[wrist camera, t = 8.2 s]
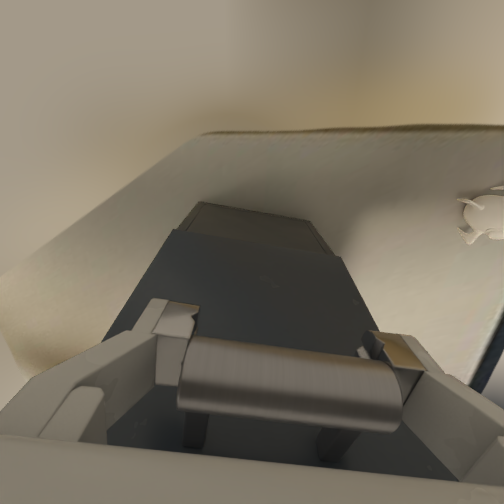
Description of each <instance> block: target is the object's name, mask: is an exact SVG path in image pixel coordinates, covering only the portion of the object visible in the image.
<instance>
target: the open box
mask: <svg viewBox="0 0 504 504" xmlns="http://www.w3.org/2000/svg"><path fill="white" fill-rule="evenodd" d="M177 230H183V231H189V232H195V233H201V234H207V235H213V236H219V237H225V238H231V239H237V240H243V241H249V242H255V243H261V244H267V245H273V246H279V247H285V248H291V249H297V250H303V251H309V252H315V253H321V254H327V255H333V256H335V255H334V253H333V252H332V251H331V249H330V248H329V246H328V245H327V244H326V242H325V241H324V240H323V238H322V237H321V235H320V234H319V233H318V231H317V230H316V229H315V227H314V226H313V224H312V223H311V222H310V221H306V220H301V219H295V218H289V217H284V216H278V215H272V214H266V213H261V212H255V211H249V210H244V209H238V208H232V207H227V206H221V205H215V204H210V203H204V202H198V203H197V205H196V206H195V207H194V208H193V209H192V211H191V212H190V213H189V214H188V216H187V217H186V218H185V219H184V220H183V222H182V223H181V224H180V225H179V227H178V228H177Z"/></svg>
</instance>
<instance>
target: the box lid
mask: <svg viewBox="0 0 504 504" xmlns="http://www.w3.org/2000/svg"><path fill="white" fill-rule="evenodd" d="M153 298H159V299H166V300H169V301H170V300H172V301H178V302H184V303H190V304H196V305H201V310H200V318H199V321H198V325H197V326H198V335H193V336H192V337H191V339H190V341H189V343H188V344H187V347H186V351H185V355H184V359H183V363H182V367H181V372H180V377H179V382H178V387H174V386H164V385H154V387H153V388H152V389H151V390H150V391H149V392H148V393H147V394H146V395H145V396H143V397H142V398H141V399H140V400H139V401H138V402H137V403H136V404H135V405H134V406H133V407H132V408H130V409H129V410H128V411H127V412H126V413H125V414H124V415H123V416H122V417H121V418H120V419H118V420H117V421H116V422H115V423H114V424H113V425H112V426H111V427H110V428H109V429H108V430H107V445H114V446H123V447H133V448H142V449H152V450H161V451H171V452H180V453H190V454H200V455H209V456H219V457H228V458H238V459H247V460H257V461H266V462H276V463H285V464H294V465H304V466H313V467H323V468H332V469H342V470H351V471H360V472H370V473H379V474H389V475H399V476H408V477H418V478H428V479H437V480H447V481H457V482H458V480H457V478H456V477H455V476H454V475H453V474H452V473H451V472H450V471H449V470H448V469H447V467H446V466H445V465H444V464H443V463H442V462H441V461H440V460H439V459H438V458H437V457H436V456H435V455H434V454H433V453H432V452H431V451H430V449H429V448H428V447H427V446H426V445H425V444H424V443H423V442H422V441H421V440H420V439H419V438H418V437H417V436H416V435H415V434H414V433H413V431H412V430H411V429H410V428H409V427H408V426H407V425H406V424H405V423H404V422H403V421H402V415H403V397H402V391H401V387H400V384H399V381H398V379H397V377H396V375H395V373H394V371H393V370H392V369H391V368H390V366H388V365H387V364H386V363H384V362H383V361H380V360H373V359H365V358H358V357H354V355H355V352H356V350H357V349H358V348H359V347H361V346H362V345H363V344H362V341H361V338H362V336H363V334H364V333H365V332H366V331H367V330H370V331H378V332H380V331H379V329H378V327H377V325H376V323H375V321H374V320H373V318H372V316H371V314H370V312H369V310H368V308H367V306H366V304H365V302H364V300H363V299H362V297H361V295H360V293H359V291H358V289H357V287H356V285H355V283H354V281H353V279H352V278H351V276H350V274H349V272H348V270H347V268H346V266H345V264H344V262H343V260H342V258H341V257H339V256H333V255H327V254H321V253H315V252H309V251H303V250H297V249H291V248H285V247H279V246H273V245H267V244H261V243H255V242H249V241H243V240H237V239H231V238H225V237H219V236H213V235H207V234H201V233H195V232H189V231H183V230H177V229H173V230H172V231H171V233H170V235H169V236H168V238H167V239H166V241H165V242H164V244H163V246H162V247H161V249H160V250H159V252H158V253H157V255H156V257H155V258H154V260H153V261H152V263H151V264H150V266H149V268H148V269H147V271H146V272H145V274H144V276H143V277H142V279H141V280H140V282H139V283H138V285H137V287H136V288H135V290H134V291H133V293H132V294H131V296H130V298H129V299H128V301H127V302H126V304H125V305H124V307H123V309H122V310H121V312H120V313H119V315H118V316H117V318H116V320H115V321H114V323H113V324H112V326H111V327H110V329H109V331H108V332H107V334H106V335H105V337H104V338H103V340H102V342H104V341H106V340H108V339H110V338H112V337H114V336H116V335H118V334H120V333H122V332H124V331H126V330H128V331H131V330H132V329H133V327H134V326H135V324H136V322H137V321H138V319H139V318H140V316H141V315H142V313H143V311H144V310H145V308H146V307H147V305H148V303H149V302H150V300H151V299H153ZM102 342H101V343H102Z"/></svg>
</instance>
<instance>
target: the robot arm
mask: <svg viewBox="0 0 504 504" xmlns="http://www.w3.org/2000/svg"><path fill="white" fill-rule="evenodd" d="M200 310H201V305H196V304H190V303H184V302H178V301H172V300H170V301H169V300H166V299H159V298H153V299H151V300H150V302H149V303H148V305H147V307H146V308H145V310H144V311H143V313H142V315H141V316H140V318H139V319H138V321H137V322H136V324H135V326H134V327H133V329H132V330H131V331H128V330H126V331H124V332H122V333H120V334H118V335H116V336H114V337H112V338H110V339H108V340H106V341H104V342H102V343H100V344H98V345H96V346H94V347H92V348H90V349H88V350H86V351H84V352H82V353H80V354H78V355H76V356H74V357H72V358H70V359H68V360H66V361H64V362H62V363H60V364H58V365H56V366H54V367H52V368H50V369H48V370H46V371H44V372H42V373H40V374H38V375H36V376H34V377H32V378H31V379H30V380H29V381H28V382H27V383H26V384H25V385H24V387H23V388H22V389H21V390H20V391H19V392H18V393H17V394H16V395H15V396H14V397H13V398H12V399H11V400H10V402H9V403H8V404H7V405H6V406H5V407H4V408H3V409H2V410H1V411H0V504H504V409H502V408H501V407H499V406H497V405H496V404H494V403H493V402H491V401H490V400H488V399H487V398H485V397H484V396H482V395H481V394H479V393H478V392H476V391H475V390H473V389H472V388H470V387H468V386H467V385H465V384H464V383H462V382H461V381H459V380H458V379H456V378H455V377H453V376H452V375H449V374H445V373H444V371H443V370H442V369H441V368H440V367H439V365H438V364H437V363H436V362H435V361H434V359H433V358H432V357H431V356H430V355H429V354H428V352H427V351H426V350H425V349H424V348H423V346H422V345H421V344H420V343H419V342H418V340H417V339H416V338H415V337H413V336H411V335H404V334H392V333H385V332H378V331H370V330H367V331H366V332H365V333H364V334H363V336H362V338H361V341H362V344H363V345H362V346H361V347H359V348H358V349H357V350H356V352H355V355H354V357H358V358H365V359H373V360H380V361H383V362H384V363H386V364H387V365H388V366H390V368H391V369H392V370H393V371H394V373H395V375H396V377H397V379H398V381H399V384H400V387H401V391H402V397H403V415H402V421H403V422H404V423H405V424H406V425H407V426H408V427H409V428H410V429H411V430H412V431H413V433H414V434H415V435H416V436H417V437H418V438H419V439H420V440H421V441H422V442H423V443H424V444H425V445H426V446H427V447H428V448H429V449H430V451H431V452H432V453H433V454H434V455H435V456H436V457H437V458H438V459H439V460H440V461H441V462H442V463H443V464H444V465H445V466H446V467H447V469H448V470H449V471H450V472H451V473H452V474H453V475H454V476H455V477H456V478H457V479H458V480H459V482H457V481H447V480H437V479H428V478H418V477H408V476H399V475H389V474H379V473H370V472H360V471H351V470H342V469H332V468H323V467H313V466H304V465H294V464H285V463H276V462H266V461H257V460H247V459H238V458H228V457H219V456H209V455H200V454H190V453H180V452H171V451H161V450H152V449H142V448H133V447H123V446H114V445H107V430H108V429H109V428H110V427H111V426H112V425H113V424H114V423H115V422H116V421H117V420H118V419H120V418H121V417H122V416H123V415H124V414H125V413H126V412H127V411H128V410H129V409H130V408H132V407H133V406H134V405H135V404H136V403H137V402H138V401H139V400H140V399H141V398H142V397H143V396H145V395H146V394H147V393H148V392H149V391H150V390H151V389H152V388H153V387H154V385H164V386H174V387H178V382H179V377H180V372H181V367H182V363H183V359H184V355H185V351H186V347H187V344H188V343H189V341H190V339H191V337H192V336H193V335H198V326H197V325H198V321H199V318H200Z"/></svg>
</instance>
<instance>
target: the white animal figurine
mask: <svg viewBox="0 0 504 504" xmlns="http://www.w3.org/2000/svg"><path fill="white" fill-rule="evenodd" d="M490 190H504V186H498V187H494V188H490ZM456 200H458V201H461V202H465V203H467V205H466V206H465V208H464V212H463V217H464V219H465V221H466V222H467V224H468V225H469V226H471V227H472V228H473V232H472V233H471V234H466V233H465V232H463V231H462V230H461V229H460V228H457V229H458V231H459V233H460V235H461V236H462V238H463V239H464V241H465V242H466V243H467V244H468V245H470V244H472V243H473V242H474V241H475V240H476V239H477V238H478V237H479V236H480V235H481V234H484V233H485V234H487V235H488V237H489V238H491V239H494V240H502V239H504V195H503V196H498V195H484V196H480V197H477V198H475V199H473V200H472V201H471V200H469V199H456Z"/></svg>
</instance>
